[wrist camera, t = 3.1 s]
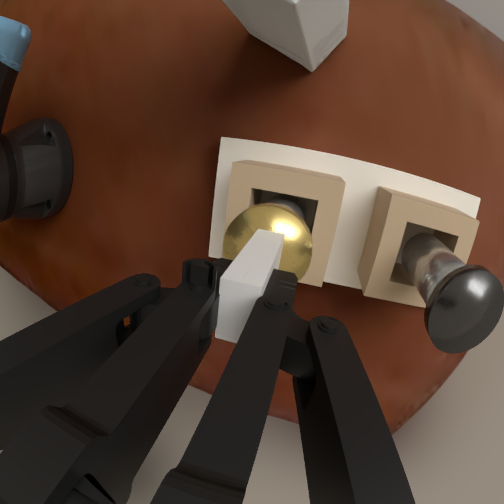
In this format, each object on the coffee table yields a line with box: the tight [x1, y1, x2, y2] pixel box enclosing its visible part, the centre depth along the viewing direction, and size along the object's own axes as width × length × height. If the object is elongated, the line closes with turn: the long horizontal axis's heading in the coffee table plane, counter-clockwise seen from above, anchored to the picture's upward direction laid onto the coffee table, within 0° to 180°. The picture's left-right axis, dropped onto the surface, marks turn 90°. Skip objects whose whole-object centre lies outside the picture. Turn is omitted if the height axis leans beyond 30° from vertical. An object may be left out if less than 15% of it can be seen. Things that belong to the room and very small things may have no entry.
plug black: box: [401, 233, 504, 353], centre depth 16 cm, size 5×5×9 cm
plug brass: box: [223, 194, 313, 282], centre depth 21 cm, size 5×5×9 cm
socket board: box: [209, 137, 481, 308], centre depth 24 cm, size 26×12×7 cm, turn 82°
